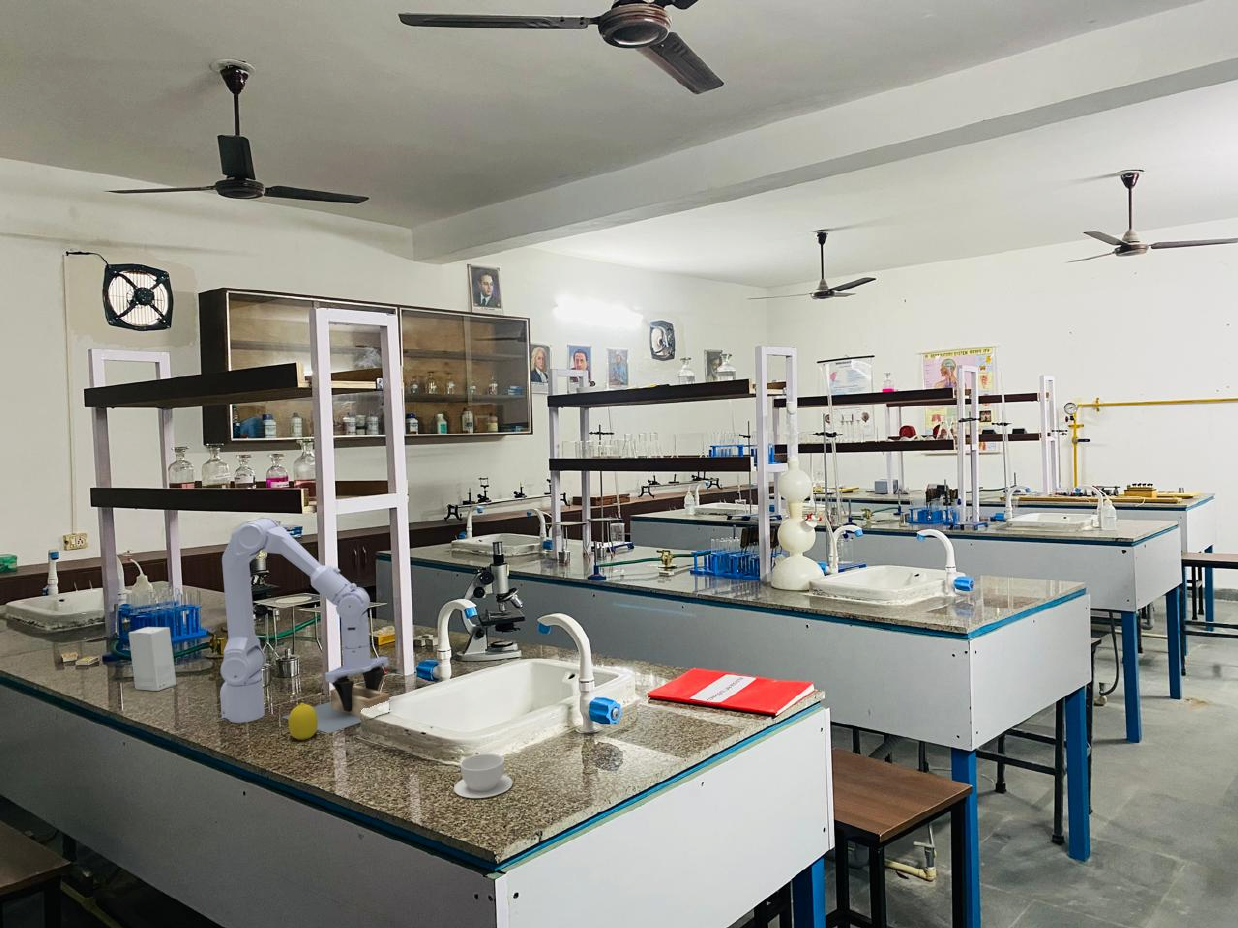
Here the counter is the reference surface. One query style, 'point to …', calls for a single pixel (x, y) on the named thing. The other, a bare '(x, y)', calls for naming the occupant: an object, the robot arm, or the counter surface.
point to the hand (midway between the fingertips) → (359, 706)
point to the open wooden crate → (358, 699)
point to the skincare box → (152, 658)
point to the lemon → (303, 722)
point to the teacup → (482, 776)
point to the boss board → (332, 718)
